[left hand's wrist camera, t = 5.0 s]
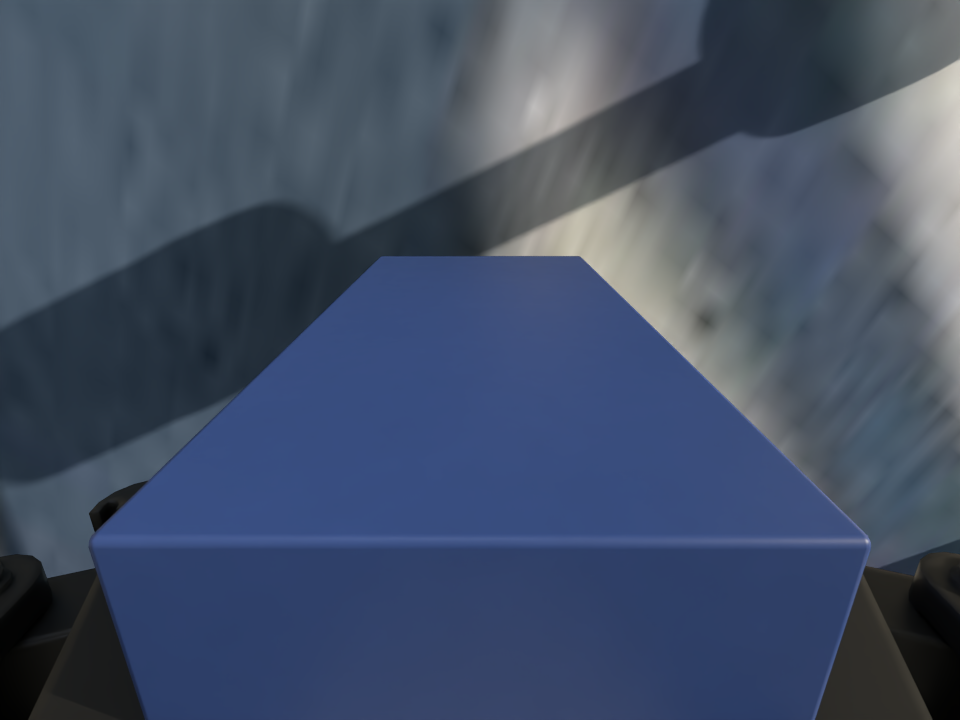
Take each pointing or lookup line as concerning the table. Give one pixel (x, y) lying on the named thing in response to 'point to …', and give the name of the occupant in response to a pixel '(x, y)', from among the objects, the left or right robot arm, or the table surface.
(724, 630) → the box
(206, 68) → the table surface
